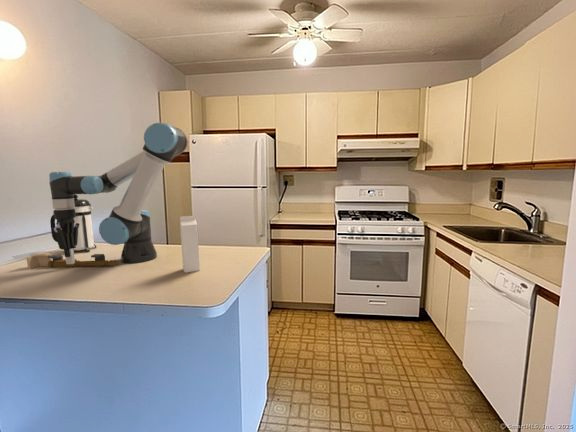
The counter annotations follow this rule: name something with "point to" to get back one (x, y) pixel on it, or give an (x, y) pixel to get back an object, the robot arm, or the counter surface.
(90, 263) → the tap handle
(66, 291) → the counter surface
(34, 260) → the board
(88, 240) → the coffee press
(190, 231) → the milk
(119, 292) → the counter surface
